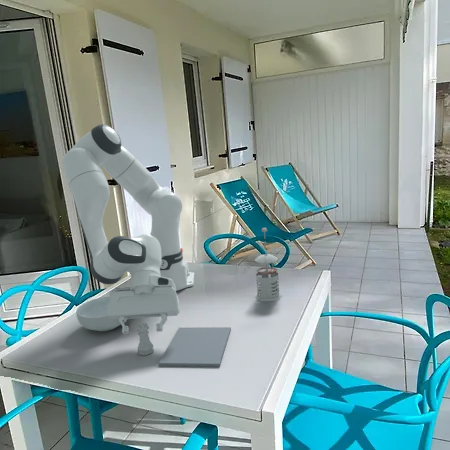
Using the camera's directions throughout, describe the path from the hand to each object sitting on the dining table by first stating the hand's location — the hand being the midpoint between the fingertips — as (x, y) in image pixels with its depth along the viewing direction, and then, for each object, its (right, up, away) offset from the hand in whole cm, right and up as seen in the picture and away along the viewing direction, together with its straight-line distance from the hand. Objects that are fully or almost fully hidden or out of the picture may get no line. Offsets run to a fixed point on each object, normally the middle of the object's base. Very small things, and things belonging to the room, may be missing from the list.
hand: (142, 332), depth 112 cm
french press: (+39, +4, +34) cm, 51 cm away
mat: (+15, -4, +1) cm, 16 cm away
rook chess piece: (+1, -6, +1) cm, 6 cm away
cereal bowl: (-15, -3, +19) cm, 25 cm away
